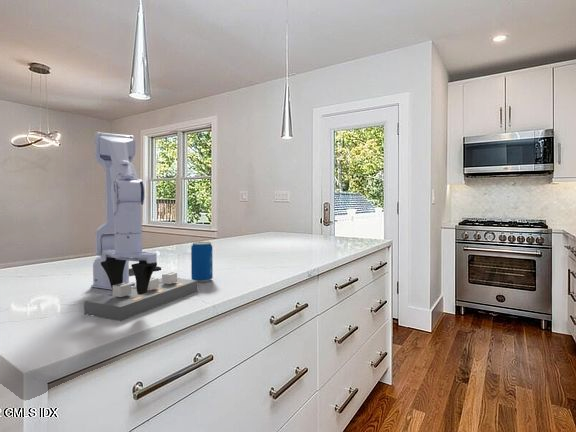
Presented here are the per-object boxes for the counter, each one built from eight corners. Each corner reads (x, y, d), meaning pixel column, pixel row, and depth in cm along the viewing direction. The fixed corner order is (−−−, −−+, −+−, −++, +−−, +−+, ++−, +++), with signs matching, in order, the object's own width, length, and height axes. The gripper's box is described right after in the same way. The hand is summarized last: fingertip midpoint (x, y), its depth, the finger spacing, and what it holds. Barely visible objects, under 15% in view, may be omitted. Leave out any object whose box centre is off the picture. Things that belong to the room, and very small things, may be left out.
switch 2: (141, 289, 86) (141, 279, 85) (150, 286, 88) (150, 276, 88) (149, 290, 85) (149, 280, 84) (158, 287, 87) (158, 277, 87)
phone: (162, 267, 126) (123, 274, 114) (162, 270, 126) (123, 278, 114) (149, 265, 131) (110, 271, 118) (149, 268, 131) (110, 275, 118)
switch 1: (112, 295, 80) (112, 285, 80) (123, 292, 82) (123, 282, 82) (120, 297, 79) (120, 286, 79) (131, 293, 82) (131, 283, 81)
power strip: (84, 314, 77) (83, 300, 77) (177, 283, 106) (177, 273, 106) (120, 321, 73) (120, 306, 73) (208, 286, 102) (208, 276, 101)
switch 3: (162, 283, 92) (161, 273, 92) (169, 280, 95) (169, 271, 95) (169, 284, 91) (169, 274, 91) (177, 281, 94) (177, 272, 94)
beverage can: (207, 283, 106) (207, 244, 105) (187, 282, 107) (187, 243, 106) (215, 278, 112) (215, 241, 112) (197, 277, 113) (197, 241, 113)
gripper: (90, 233, 78) (91, 292, 79) (138, 236, 73) (139, 299, 73) (116, 230, 85) (117, 285, 85) (163, 233, 79) (163, 291, 80)
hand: (129, 291), depth 80 cm, fingers open, 7 cm apart
